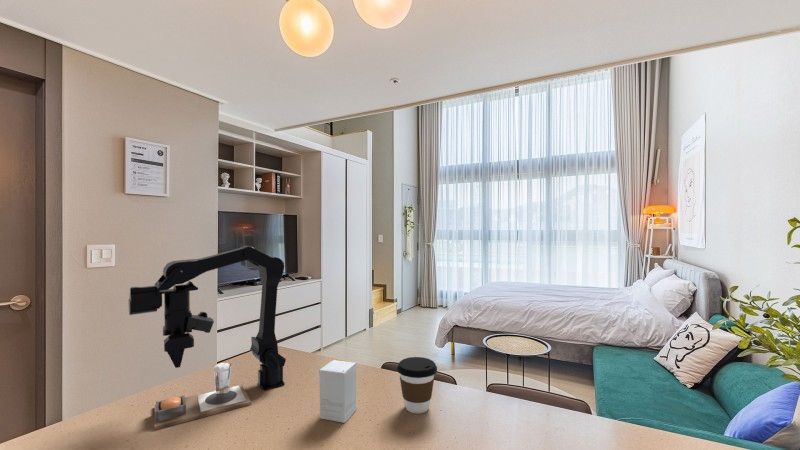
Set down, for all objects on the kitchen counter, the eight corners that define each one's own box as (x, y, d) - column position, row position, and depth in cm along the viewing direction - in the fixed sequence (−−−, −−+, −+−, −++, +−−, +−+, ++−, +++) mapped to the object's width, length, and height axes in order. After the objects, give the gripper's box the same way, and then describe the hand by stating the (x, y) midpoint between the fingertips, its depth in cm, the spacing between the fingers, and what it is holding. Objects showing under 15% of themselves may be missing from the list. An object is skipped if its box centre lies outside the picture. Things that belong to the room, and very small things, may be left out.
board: (242, 386, 109) (242, 376, 109) (251, 404, 98) (251, 393, 98) (154, 407, 96) (154, 395, 96) (154, 430, 86) (154, 416, 86)
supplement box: (357, 409, 95) (357, 362, 96) (344, 424, 88) (344, 373, 89) (333, 405, 98) (333, 359, 98) (318, 418, 91) (318, 369, 91)
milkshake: (225, 401, 98) (226, 365, 98) (209, 399, 99) (209, 363, 99) (236, 393, 102) (237, 359, 102) (220, 392, 103) (220, 357, 103)
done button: (180, 406, 95) (180, 395, 95) (181, 413, 92) (181, 402, 92) (160, 411, 93) (160, 400, 93) (160, 419, 89) (160, 407, 89)
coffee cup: (445, 407, 97) (445, 363, 97) (419, 423, 89) (419, 375, 89) (414, 394, 104) (414, 353, 104) (388, 408, 96) (388, 363, 96)
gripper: (216, 311, 91) (216, 371, 91) (207, 298, 107) (207, 350, 107) (164, 317, 85) (164, 382, 85) (162, 303, 100) (163, 359, 100)
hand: (177, 367), depth 95 cm, fingers closed
